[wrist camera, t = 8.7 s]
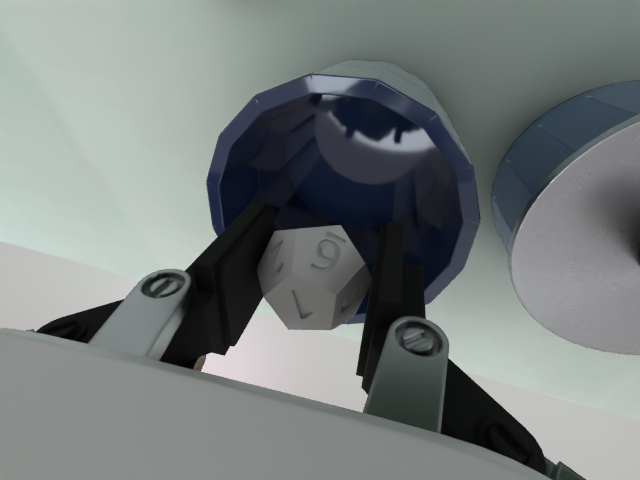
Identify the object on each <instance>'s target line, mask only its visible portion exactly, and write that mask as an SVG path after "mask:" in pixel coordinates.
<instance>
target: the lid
mask: <svg viewBox="0 0 640 480" xmlns="http://www.w3.org/2000/svg"><path fill="white" fill-rule="evenodd" d="M508 268H509V273H510V278H511V282H512V284H513V287H514V289H515V292H516V294H517V297H518V298H519V300H520V301H521V303H522V305H523V306H524V308H525V309H526V310H527V311H528V313H529V314H530V315H531V316H532V317H533V318H534V319H535V320H536V321H537V322H539V323H540V324H541V325H542V326H543V327H545V328H546V329H548V330H550V331H551V332H553V333H554V334H556V335H558V336H560V337H562V338H564V339H566V340H568V341H570V342H573V343H576V344H579V345H582V346H585V347H588V348H592V349H596V350H601V351H605V352H612V353H619V354H629V355H640V114H639V115H636V116H634V117H632V118H630V119H628V120H626V121H624V122H622V123H620V124H618V125H616V126H614V127H612V128H610V129H609V130H607V131H606V132H604V133H602V134H601V135H599V136H598V137H596V138H594V139H593V140H591V141H590V142H588V143H586V144H585V145H584V146H582V147H581V148H580V149H579V150H577V151H576V152H575V153H573V154H572V155H571V156H569V157H568V158H567V159H566V160H564V161H563V162H562V163H561V164H560V165H559V166H558V167H557V168H556V169H555V170H554V171H553V172H551V173H550V174H549V175H548V177H547V178H546V179H545V180H544V181H543V182H542V183H541V185H540V186H539V187H538V188H537V189H536V190H535V192H534V193H533V195H532V196H531V198H530V199H529V200H528V202H527V203H526V205H525V206H524V208H523V210H522V212H521V214H520V216H519V218H518V220H517V222H516V224H515V227H514V230H513V233H512V236H511V239H510V245H509V251H508Z"/></svg>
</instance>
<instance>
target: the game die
mask: <svg viewBox="0 0 640 480" xmlns="http://www.w3.org/2000/svg"><path fill="white" fill-rule="evenodd" d="M257 274H258V278H259V281H260V285H261V289H262V292H263V296H264V298H265V299H266V301H267V302H268V303H269V304H270V306H271V307H272V308H273V310H274V311H275V312H276V314H277V315H278V316H279V318H280V319H281V320H282V322H283V323H284V324H285V326H286V327H287V328H288V329H295V330H298V329H299V330H300V329H301V330H332V329H334V328H336V327H337V326H339V325H341V324H343V323H344V322H346V321H348V320H350V319H352V318H353V317H354V316H355V314H356V312H357V310H358V309H359V307H360V305H361V303H362V301H363V299H364V297H365V295H366V293H367V291H368V289H369V287H370V285H371V281H372V277H371V275H370V272H369V270H368V268H367V266H366V264H365V262H364V261H363V259H362V257H361V256H360V254H359V253H358V251H357V250H356V248H355V247H354V245H353V243H352V242H351V240H350V239H349V237H348V236H347V234H346V232H345V231H344V229H343V228H342V226H341V225H334V226H323V227H311V228H300V229H290V230H280V231H274V233H273V235H272V237H271V239H270V241H269V243H268V245H267V247H266V250H265V252H264V254H263V256H262V258H261V260H260V262H259V264H258V267H257Z"/></svg>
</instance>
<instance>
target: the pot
mask: <svg viewBox="0 0 640 480" xmlns="http://www.w3.org/2000/svg"><path fill="white" fill-rule="evenodd" d="M206 182H207V183H206V184H207V192H208V199H209V206H210V213H211V220H212V226H213V229H214V231H215V232H216V234H217V236H219V235H220V234H221V233H222V232H223V231H224V230H225V229H226V228H227V227H228V226H229V225H230V224H231V223H232V222H233V221H234V220H235V219H236V218H237V217H238V216H239V215H240V214H241V213H242V212H243V211H244V209H245V208H246V207H247V206H248V205H249V204H250V203H251V202H259V203H266V204H269V207H270V208H273V209H274V221H275V231H280V230H290V229H300V228H311V227H323V226H334V225H341V226H342V228H343V229H344V231H345V232H346V234H347V236H348V237H349V239H350V240H351V242H352V243H353V245H354V247H355V248H356V250H357V251H358V253H359V254H360V256H361V257H362V259H363V261H364V262H365V264H366V266H367V268H368V270H369V272H370V275H371V277H372V274H373V268H374V262H375V257H376V251H377V245H378V239H379V233H380V228H381V225H383V226H387V224H388V222H391V223H397V224H404V249H403V263H408V264H414V265H419V266H422V267H423V280H424V298H425V305H426V304H428V303H430V302H432V301H433V300H434V299H435V298H436V297H437V295H438V294H439V293H440V292H441V291H442V290H443V289H444V288H445V287H446V286H447V285H448V284H449V283H450V282H451V281H452V280H453V279H454V278H455V277H456V276H457V275H458V274H459V273H460V272H461V271H462V270H463V268H464V267H465V264H466V261H467V258H468V255H469V252H470V250H471V247H472V244H473V241H474V238H475V236H476V233H477V230H478V227H479V224H480V212H479V205H478V197H477V190H476V182H475V175H474V167H473V165H472V162H471V160H470V158H469V156H468V154H467V152H466V150H465V148H464V146H463V145H462V143H461V141H460V139H459V137H458V135H457V133H456V131H455V129H454V127H453V125H452V123H451V121H450V119H449V117H448V115H447V113H446V112H445V110H444V109H443V107H442V106H441V105H440V103H439V102H438V100H437V98H436V97H435V96H434V94H433V93H432V91H431V90H430V88H429V87H428V85H427V84H425V82H423V81H422V80H420V79H418V78H416V77H415V76H413V75H412V74H411V73H409V72H407V71H405V70H403V69H401V68H399V67H397V66H396V65H394V64H392V63H389V62H378V61H371V60H347V61H344V62H341V63H339V64H336V65H333V66H330V67H327V68H324V69H322V70H319V71H316V72H313V73H310V74H308V75H305V76H303V77H300V78H297V79H295V80H292V81H290V82H287V83H285V84H282V85H279V86H277V87H274V88H272V89H269V90H267V91H264V92H262V93H259V94H256V95H255V96H254V97H253V98H252V99H251V100H250V101H249V102H248V103H247V104H246V106H245V107H244V108H243V109H242V110H241V111H240V112H239V113H238V114H237V116H236V117H235V118H234V119H233V120H232V121H231V122H230V123H229V125H228V126H227V127H226V128H225V129H224V130H223V131H222V132H221V133H220V136H219V137H218V141H217V144H216V148H215V151H214V155H213V159H212V162H211V166H210V169H209V173H208V177H207V180H206ZM370 286H371V285H370ZM369 292H370V287H369V289H368V291H367V293H366V295H365V297H364V299H363V301H362V303H361V305H360V307H359V309H358V310H357V312H356V314H355V316H354V317H353V318H352V319H350V320H348V321H346V322H344V323H343V324H345V323H346V324H356V323H365V316H366V310H367V304H368V298H369Z"/></svg>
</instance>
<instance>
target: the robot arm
mask: <svg viewBox="0 0 640 480" xmlns="http://www.w3.org/2000/svg"><path fill="white" fill-rule="evenodd" d="M274 231H275V221H274V209H273V208H270V207H269V204H266V203H259V202H251V203H250V204H249V205H248V206H247V207H246V208H245V209H244V211H243V212H242V213H241V214H240V215H239V216H238V217H237V218H236V219H235V220H234V221H233V222H232V223H231V224H230V225H229V226H228V227H227V228H226V229H225V230H224V231H223V232H222V233H221V234H220V235H219V236H218V237H217V238H216V239H215V240H214V241H213V242H212V243H211V245H210V246H209V247H208V248H207V249H206V250H205V251H204V252H203V253H202V254H201V255H200V256H199V257H198V258H197V259H196V260H195V261H194V262H193V263H192V264H191V265H190V266H189V267H188V268H187V269H186V270H185V271H182V270H178V269H165V270H159V271H156V272H153V273H151V274H149V275H147V276H146V277H144V278H143V279H142V280H141V281H139V282H138V284H137V285H136V286H135V287H134V288H133V290H132V291H131V292H130V293H129V295H128V296H127V297H126V298H125V299H123V300H120V301H116V302H113V303H109V304H106V305H103V306H99V307H96V308H92V309H89V310H86V311H82V312H79V313H75V314H72V315H68V316H65V317H62V318H59V319H56V320H54V321H51V322H50V323H48V324H46V325H44V326H42V327H41V328H40V329H39V330H37V331H36V332H35V331H34V329H31V330H26V331H23V330H16V329H8V328H0V480H586V479H584V478H583V477H582V476H580V475H578V474H577V473H576V472H574V471H573V470H572V469H570V468H569V467H567V466H566V465H564V464H563V463H562V462H560V461H559V462H558V463H557V465H555V464H554V463H553V462H551V461H550V460H548V459H547V458H545V457H544V455H543V452H542V449H541V448H540V446H539V445H538V443H537V441H536V439H535V438H534V437H533V436H532V435H531V434H530V433H529V431H527V429H526V428H525V427H524V426H523V425H521V424H520V423H519V422H518V421H517V420H516V419H515V418H514V417H513V416H512V415H510V414H509V413H508V412H507V411H506V410H505V409H504V408H503V407H502V406H501V405H499V404H498V403H497V402H496V401H495V400H494V399H493V398H492V397H491V396H489V395H488V394H487V393H486V392H485V391H484V390H483V389H482V388H481V387H480V386H478V385H477V384H476V383H475V382H474V381H473V380H472V379H471V378H470V377H469V376H468V375H466V374H465V373H464V372H463V371H462V370H461V369H460V368H459V367H458V366H457V365H455V364H454V363H453V362H452V361H451V360H450V359H449V358H448V353H449V342H448V339H447V337H446V335H445V333H444V332H443V331H442V330H441V328H440V327H439V326H437V325H436V324H434V323H433V322H431V321H429V320H427V319H426V317H425V298H424V280H423V267H422V266H419V265H414V264H408V263H403V249H404V224H397V223H391V222H388V224H387V226H383V225H381V228H380V233H379V239H378V245H377V251H376V257H375V262H374V268H373V274H372V281H371V286H370V292H369V298H368V304H367V310H366V316H365V323H364V329H363V335H362V341H361V347H360V354H359V361H358V366H357V372H356V375H358V376H362V377H363V381H362V388H363V389H364V390H365V392H366V393H367V394H368V397H367V401H366V404H365V407H364V410H363V413H361V412H357V411H354V410H350V409H346V408H342V407H338V406H334V405H330V404H326V403H322V402H319V401H315V400H311V399H307V398H303V397H299V396H295V395H291V394H287V393H284V392H280V391H276V390H272V389H267V388H263V387H260V386H256V385H252V384H247V383H244V382H240V381H236V380H231V379H228V378H224V377H220V376H216V375H212V374H208V373H204V372H201V369H202V367H203V365H204V362H205V359H206V354H208V353H211V352H212V353H216V354H220V355H225V354H226V352H227V351H228V349H229V347H230V346H235V345H236V344H237V342H238V340H239V338H240V336H241V335H242V333H243V331H244V329H245V328H246V326H247V324H248V322H249V321H250V319H251V317H252V315H253V314H254V312H255V310H256V308H257V307H258V305H259V303H260V301H261V300H262V298H263V292H262V289H261V285H260V281H259V278H258V274H257V267H258V264H259V262H260V260H261V258H262V256H263V254H264V252H265V250H266V247H267V245H268V243H269V241H270V239H271V237H272V235H273V233H274Z"/></svg>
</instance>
